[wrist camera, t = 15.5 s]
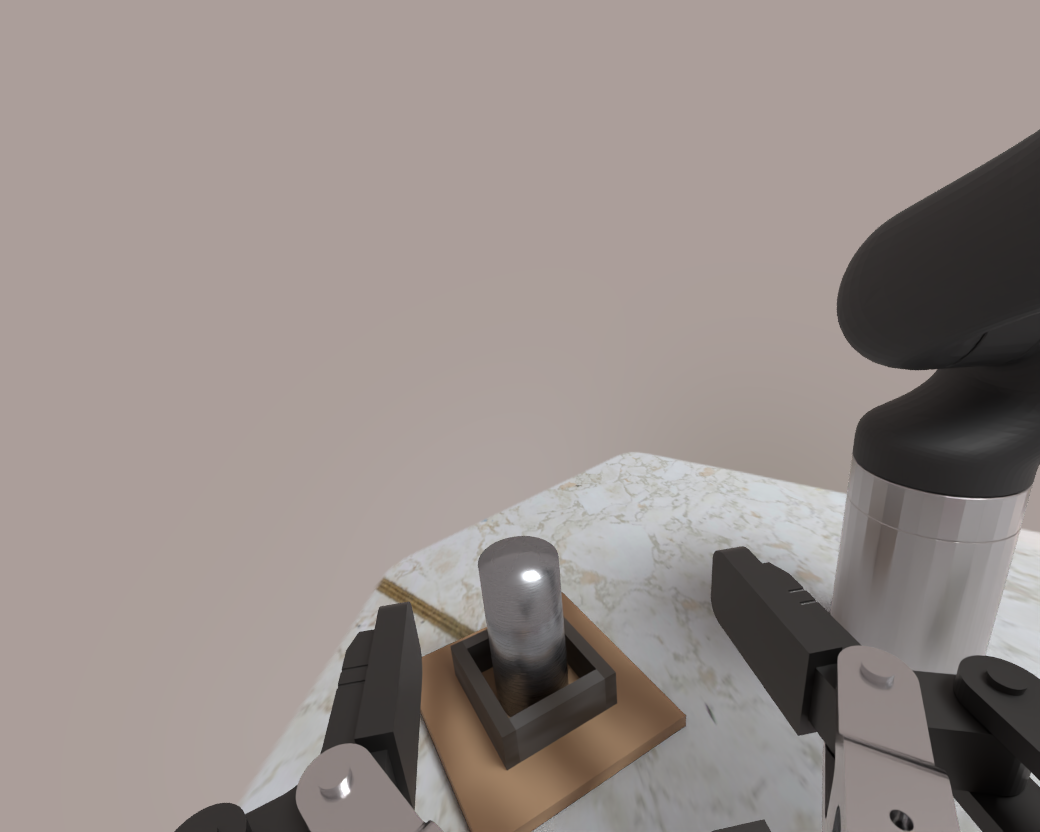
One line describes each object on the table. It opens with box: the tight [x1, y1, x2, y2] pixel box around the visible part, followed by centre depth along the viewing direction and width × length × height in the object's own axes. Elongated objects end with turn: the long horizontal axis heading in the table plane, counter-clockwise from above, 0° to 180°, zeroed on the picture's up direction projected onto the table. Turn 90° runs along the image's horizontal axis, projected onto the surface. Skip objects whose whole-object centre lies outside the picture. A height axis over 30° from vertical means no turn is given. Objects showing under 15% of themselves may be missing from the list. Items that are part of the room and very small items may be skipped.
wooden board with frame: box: [420, 592, 686, 832], centre depth 39 cm, size 16×16×4 cm
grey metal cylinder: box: [478, 536, 569, 717], centre depth 37 cm, size 6×6×12 cm
